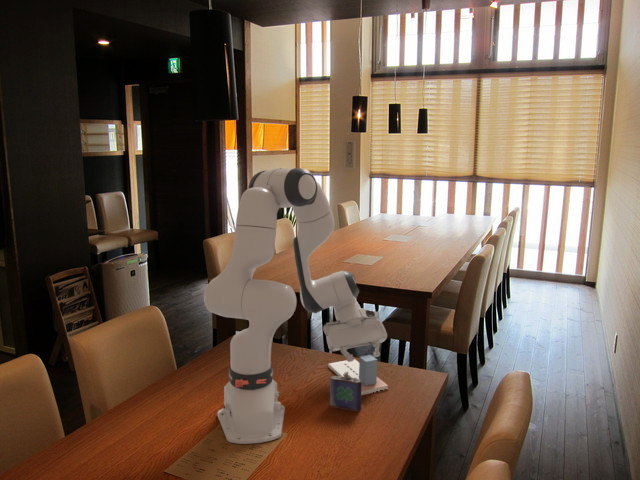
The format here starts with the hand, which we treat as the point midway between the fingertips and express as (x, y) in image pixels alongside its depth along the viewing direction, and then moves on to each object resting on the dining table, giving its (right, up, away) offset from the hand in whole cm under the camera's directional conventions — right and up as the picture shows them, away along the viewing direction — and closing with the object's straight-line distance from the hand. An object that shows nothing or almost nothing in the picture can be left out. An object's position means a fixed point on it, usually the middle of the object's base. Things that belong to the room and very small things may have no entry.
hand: (364, 358), depth 168 cm
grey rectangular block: (+1, -7, -1) cm, 7 cm away
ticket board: (-2, -7, +6) cm, 10 cm away
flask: (-7, -11, -13) cm, 19 cm away
